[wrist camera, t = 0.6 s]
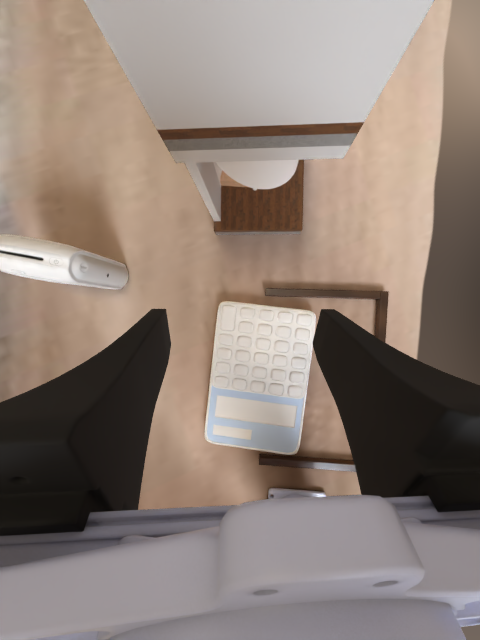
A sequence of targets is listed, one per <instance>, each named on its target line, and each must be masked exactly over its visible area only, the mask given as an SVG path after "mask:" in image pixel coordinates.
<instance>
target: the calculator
mask: <svg viewBox="0 0 480 640" xmlns="http://www.w3.org/2000/svg"><path fill="white" fill-rule="evenodd" d="M315 326H316V315H315V314H314V313H313V312H312V311H309V310H303V309H295V308H286V307H277V306H268V305H259V304H250V303H241V302H232V301H224V302H221V303H220V304H219V307H218V312H217V320H216V330H215V339H214V348H213V357H212V367H211V376H210V385H209V394H208V404H207V413H206V422H205V438H206V440H207V441H208V442H210V443H213V444H218V445H224V446H231V447H238V448H245V449H252V450H258V451H265V452H272V453H279V454H286V455H293V454H296V453H297V451H298V449H299V446H300V441H301V433H302V425H303V418H304V410H305V403H306V395H307V387H308V380H309V372H310V364H311V357H312V349H313V339H314V334H315Z"/></svg>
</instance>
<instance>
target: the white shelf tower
mask: <svg viewBox="0 0 480 640" xmlns="http://www.w3.org/2000/svg"><path fill="white" fill-rule="evenodd" d="M84 2H85V4H86V5H87V7H88V9H89V11H90V13H91V14H92V16H93V18H94V20H95V21H96V23H97V25H98V27H99V28H100V30H101V32H102V34H103V35H104V37H105V39H106V41H107V43H108V44H109V46H110V48H111V50H112V51H113V53H114V55H115V57H116V58H117V60H118V62H119V64H120V65H121V67H122V69H123V71H124V73H125V74H126V76H127V78H128V80H129V81H130V83H131V85H132V87H133V88H134V90H135V92H136V94H137V95H138V97H139V99H140V101H141V102H142V104H143V106H144V108H145V110H146V111H147V113H148V115H149V117H150V118H151V120H152V122H153V124H154V125H155V127H156V129H157V131H158V132H159V134H160V136H161V138H162V140H163V141H164V143H165V145H166V147H167V148H168V150H169V152H170V154H171V155H172V157H173V159H174V161H175V162H176V163H185V165H186V167H187V169H188V171H189V173H190V175H191V177H192V179H193V181H194V183H195V185H196V187H197V189H198V191H199V193H200V195H201V197H202V199H203V201H204V202H205V204H206V206H207V208H208V210H209V212H210V214H211V216H212V218H213V220H214V231H215V233H216V235H240V234H300V232H301V231H302V218H303V174H304V160H306V159H342V158H344V156H345V154H346V153H347V151H348V149H349V147H350V146H351V144H352V142H353V141H354V139H355V137H356V135H357V134H358V132H359V130H360V128H361V127H362V125H363V123H364V121H365V120H366V118H367V116H368V115H369V113H370V111H371V109H372V108H373V106H374V104H375V102H376V101H377V99H378V97H379V95H380V94H381V92H382V90H383V89H384V87H385V85H386V83H387V82H388V80H389V78H390V76H391V75H392V73H393V71H394V69H395V68H396V66H397V64H398V63H399V61H400V59H401V57H402V56H403V54H404V52H405V50H406V49H407V47H408V45H409V43H410V42H411V40H412V38H413V37H414V35H415V33H416V31H417V30H418V28H419V26H420V24H421V23H422V21H423V19H424V17H425V16H426V14H427V12H428V10H429V9H430V7H431V5H432V4H433V2H434V0H84Z"/></svg>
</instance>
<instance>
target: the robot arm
mask: <svg viewBox="0 0 480 640" xmlns="http://www.w3.org/2000/svg"><path fill="white" fill-rule="evenodd" d="M313 347H314V351H315V354H316V358H317V361H318V363H319V366H320V368H321V370H322V373H323V375H324V377H325V379H326V382H327V384H328V386H329V388H330V391H331V393H332V395H333V397H334V400H335V402H336V405H337V407H338V410H339V413H340V416H341V419H342V422H343V425H344V429H345V432H346V435H347V439H348V442H349V446H350V449H351V453H352V457H353V461H354V465H355V468H356V472H357V476H358V481H359V485H360V490H361V494H362V495H346V496H326V495H325V493H324V492H320V491H308V490H295V489H282V488H270V489H269V491H268V499H265V500H258V501H252V502H246V503H243V504H240V505H229V506H209V507H188V508H168V509H148V510H138V504H139V497H140V489H141V482H142V476H143V469H144V463H145V456H146V451H147V445H148V439H149V433H150V428H151V423H152V417H153V413H154V409H155V405H156V401H157V398H158V395H159V391H160V388H161V385H162V382H163V378H164V375H165V372H166V368H167V365H168V360H169V354H170V348H171V340H170V334H169V327H168V320H167V314H166V309H151V310H150V311H149V312H148V313H147V314H146V315H145V316H144V317H143V318H141V319H140V320H139V321H138V322H137V323H136V324H135V325H134V326H133V327H131V328H130V329H129V330H128V331H127V332H126V333H125V334H123V335H122V336H121V337H119V338H118V339H117V340H116V341H114V342H113V343H112V344H111V345H109V346H108V347H107V348H105V349H104V350H102V351H101V352H100V353H98V354H97V355H95V356H94V357H92V358H90V359H89V360H87V361H86V362H84V363H82V364H81V365H79V366H77V367H75V368H74V369H72V370H70V371H68V372H66V373H65V374H63V375H61V376H59V377H57V378H55V379H53V380H51V381H49V382H47V383H45V384H43V385H41V386H39V387H36V388H34V389H32V390H30V391H28V392H25V393H23V394H21V395H18V396H16V397H13V398H11V399H8V400H6V401H3V402H1V403H0V640H466V638H465V636H464V634H463V632H462V630H461V628H460V627H463V626H471V625H480V385H477V384H474V383H472V382H469V381H466V380H463V379H461V378H458V377H455V376H453V375H450V374H448V373H445V372H442V371H440V370H438V369H436V368H433V367H431V366H429V365H426V364H424V363H422V362H420V361H418V360H416V359H414V358H412V357H410V356H408V355H406V354H404V353H402V352H400V351H398V350H397V349H395V348H393V347H391V346H390V345H388V344H386V343H385V342H383V341H381V340H380V339H378V338H376V337H375V336H373V335H372V334H370V333H369V332H367V331H366V330H364V329H363V328H361V327H360V326H358V325H357V324H355V323H354V322H353V321H351V320H350V319H348V318H347V317H345V316H344V315H342V314H341V313H339V312H338V311H336V310H334V309H321V312H320V316H319V320H318V324H317V328H316V332H315V335H314V339H313ZM271 494H272V495H273V496H271Z"/></svg>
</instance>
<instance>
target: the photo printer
mask: <svg viewBox="0 0 480 640" xmlns="http://www.w3.org/2000/svg"><path fill="white" fill-rule="evenodd" d="M0 271H2V272H5V273H9V274H13V275H17V276H22V277H27V278H32V279H37V280H43V281H49V282H55V283H62V284H73V285H81V286H88V287H96V288H103V289H114V290H117V289H122V287H123V286H125V285H126V283H127V281H128V277H129V274H128V270H127V268H126V265H125V264H123V263H121V262H118V261H115V260H113V259H110V258H107V257H104V256H101V255H98V254H95V253H92V252H89V251H86V250H83V249H80V248H77V247H74V246H70V245H66V244H62V243H58V242H53V241H48V240H43V239H38V238H32V237H25V236H18V235H7V234H3V235H0Z"/></svg>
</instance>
